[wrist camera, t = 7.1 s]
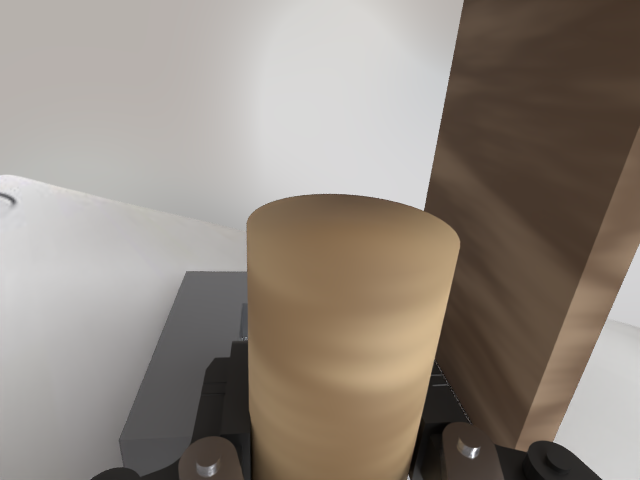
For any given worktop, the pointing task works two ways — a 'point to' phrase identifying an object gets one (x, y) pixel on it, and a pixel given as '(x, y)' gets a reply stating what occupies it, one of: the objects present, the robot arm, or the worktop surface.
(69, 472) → the worktop surface
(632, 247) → the wooden l bracket
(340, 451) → the wooden peg
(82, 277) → the worktop surface
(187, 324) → the socket plate
